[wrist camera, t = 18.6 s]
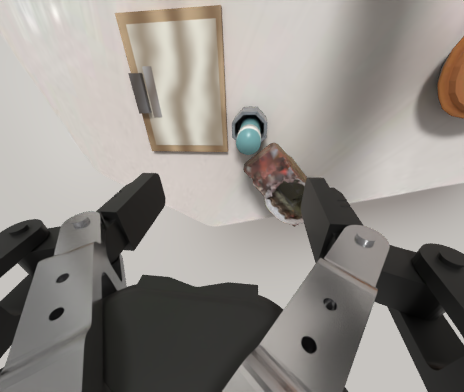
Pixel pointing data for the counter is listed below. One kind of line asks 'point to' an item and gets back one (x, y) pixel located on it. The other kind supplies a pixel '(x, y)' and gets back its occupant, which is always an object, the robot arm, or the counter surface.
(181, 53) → the clipboard
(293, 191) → the decorative box
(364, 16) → the counter surface
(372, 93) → the counter surface
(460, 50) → the pie
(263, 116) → the pen cup
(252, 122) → the teal rounded cylinder
